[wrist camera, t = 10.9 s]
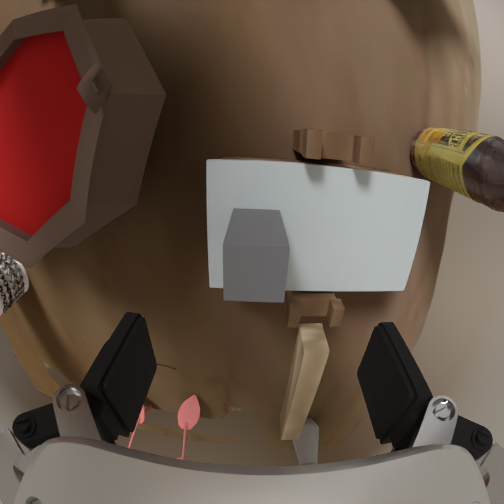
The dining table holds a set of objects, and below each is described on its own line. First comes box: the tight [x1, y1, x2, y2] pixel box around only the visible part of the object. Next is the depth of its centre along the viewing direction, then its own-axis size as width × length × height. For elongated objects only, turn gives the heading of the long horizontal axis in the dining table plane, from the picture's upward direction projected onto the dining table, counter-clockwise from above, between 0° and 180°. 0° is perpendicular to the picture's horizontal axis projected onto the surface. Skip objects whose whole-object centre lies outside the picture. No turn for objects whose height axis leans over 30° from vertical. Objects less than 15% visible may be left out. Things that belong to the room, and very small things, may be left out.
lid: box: [206, 159, 430, 303], centre depth 19 cm, size 19×11×9 cm, turn 88°
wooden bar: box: [280, 323, 330, 440], centre depth 27 cm, size 2×18×4 cm, turn 178°
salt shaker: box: [292, 418, 319, 466], centre depth 41 cm, size 6×6×13 cm
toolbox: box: [220, 129, 399, 327], centre depth 24 cm, size 18×16×10 cm
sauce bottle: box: [410, 127, 504, 212], centre depth 16 cm, size 7×6×20 cm
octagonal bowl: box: [0, 4, 166, 268], centre depth 17 cm, size 24×24×16 cm
